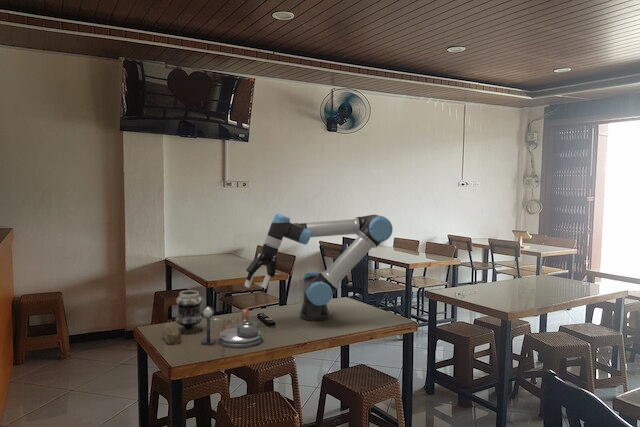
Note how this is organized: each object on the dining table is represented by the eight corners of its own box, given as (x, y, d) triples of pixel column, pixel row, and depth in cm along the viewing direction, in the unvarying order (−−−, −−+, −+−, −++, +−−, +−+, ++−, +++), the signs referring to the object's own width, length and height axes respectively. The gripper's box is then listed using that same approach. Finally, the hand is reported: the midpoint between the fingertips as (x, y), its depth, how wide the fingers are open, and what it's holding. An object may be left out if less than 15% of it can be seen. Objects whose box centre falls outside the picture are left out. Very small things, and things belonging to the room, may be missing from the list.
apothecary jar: (203, 333, 221) (203, 294, 219) (176, 336, 216) (176, 296, 215) (200, 325, 232) (200, 288, 231) (174, 328, 228) (174, 290, 226)
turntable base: (265, 334, 221) (265, 330, 221) (258, 348, 202) (259, 345, 202) (223, 333, 221) (223, 329, 221) (213, 347, 202) (213, 344, 202)
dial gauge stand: (222, 341, 210) (222, 304, 209) (219, 345, 205) (219, 307, 204) (204, 340, 210) (204, 304, 209) (200, 344, 205) (200, 307, 204)
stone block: (167, 345, 204) (167, 334, 204) (162, 338, 214) (162, 326, 214) (181, 343, 207) (181, 332, 207) (175, 336, 217) (175, 325, 217)
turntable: (265, 327, 225) (265, 309, 224) (257, 343, 202) (258, 323, 202) (226, 326, 225) (226, 308, 224) (214, 342, 203) (214, 322, 202)
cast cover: (259, 332, 214) (259, 319, 213) (256, 338, 205) (256, 325, 204) (239, 331, 214) (239, 318, 213) (235, 338, 205) (235, 324, 204)
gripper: (279, 245, 244) (264, 285, 244) (249, 239, 222) (233, 282, 223) (291, 251, 240) (276, 291, 240) (261, 245, 218) (245, 289, 219)
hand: (255, 287), depth 231 cm, fingers open, 13 cm apart
